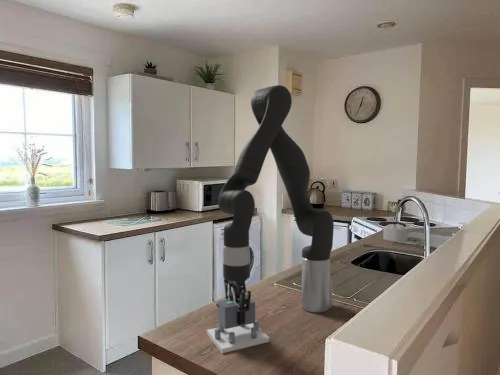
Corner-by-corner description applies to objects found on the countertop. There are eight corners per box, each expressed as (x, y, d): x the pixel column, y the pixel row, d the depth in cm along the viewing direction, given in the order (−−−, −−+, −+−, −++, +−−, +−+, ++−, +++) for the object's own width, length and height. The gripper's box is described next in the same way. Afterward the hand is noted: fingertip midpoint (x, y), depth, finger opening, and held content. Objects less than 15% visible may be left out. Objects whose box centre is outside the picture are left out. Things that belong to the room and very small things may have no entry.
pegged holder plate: (250, 324, 117) (250, 312, 117) (269, 341, 106) (269, 328, 106) (207, 333, 111) (206, 321, 111) (221, 353, 101) (221, 339, 100)
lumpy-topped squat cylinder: (388, 236, 236) (388, 222, 235) (410, 239, 228) (410, 224, 227) (381, 239, 228) (381, 224, 228) (403, 242, 220) (404, 227, 219)
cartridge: (247, 316, 113) (247, 295, 112) (255, 322, 108) (255, 301, 108) (218, 321, 109) (218, 300, 108) (225, 329, 104) (224, 307, 104)
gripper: (260, 266, 102) (260, 327, 104) (238, 253, 115) (239, 308, 117) (234, 269, 99) (234, 333, 100) (214, 256, 112) (215, 313, 113)
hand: (236, 319), depth 108 cm, fingers closed on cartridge, 5 cm apart
